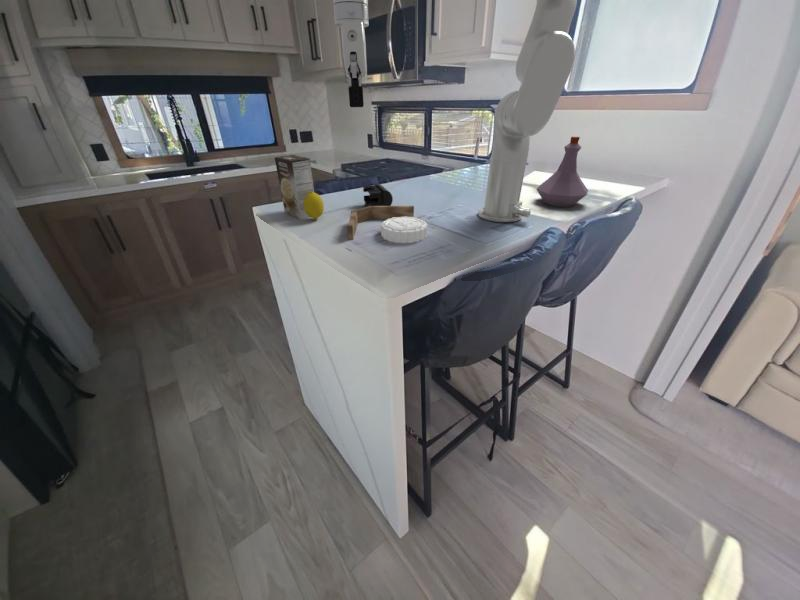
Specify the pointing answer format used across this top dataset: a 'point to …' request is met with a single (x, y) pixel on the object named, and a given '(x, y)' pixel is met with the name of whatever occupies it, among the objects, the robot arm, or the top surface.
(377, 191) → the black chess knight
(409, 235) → the mooncake
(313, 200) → the lemon
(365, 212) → the centring jig
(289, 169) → the coffee box
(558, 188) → the flask
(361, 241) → the top surface
